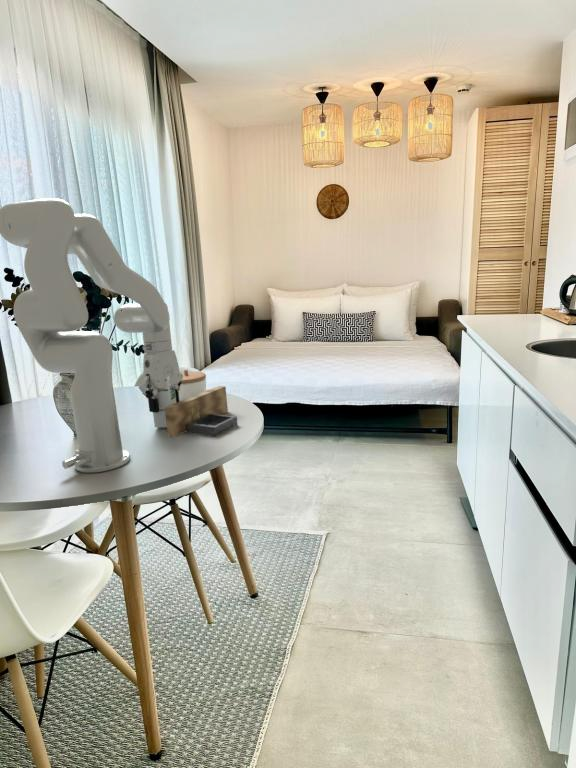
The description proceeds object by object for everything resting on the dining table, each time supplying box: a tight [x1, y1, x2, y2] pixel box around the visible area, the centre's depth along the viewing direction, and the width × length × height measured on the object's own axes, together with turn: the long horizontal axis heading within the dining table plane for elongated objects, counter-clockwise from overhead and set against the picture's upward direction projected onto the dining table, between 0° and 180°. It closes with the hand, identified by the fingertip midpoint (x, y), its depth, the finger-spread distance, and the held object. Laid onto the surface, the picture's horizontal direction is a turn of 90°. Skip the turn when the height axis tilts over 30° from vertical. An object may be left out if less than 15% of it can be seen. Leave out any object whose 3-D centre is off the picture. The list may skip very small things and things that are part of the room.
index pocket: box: [186, 413, 238, 437], centre depth 145 cm, size 10×10×2 cm
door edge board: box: [164, 385, 229, 437], centre depth 151 cm, size 24×3×8 cm, turn 150°
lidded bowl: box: [178, 369, 207, 402], centre depth 174 cm, size 13×13×11 cm
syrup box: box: [149, 376, 177, 428], centre depth 149 cm, size 6×6×14 cm
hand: (164, 407), depth 149 cm, fingers closed on syrup box, 7 cm apart
